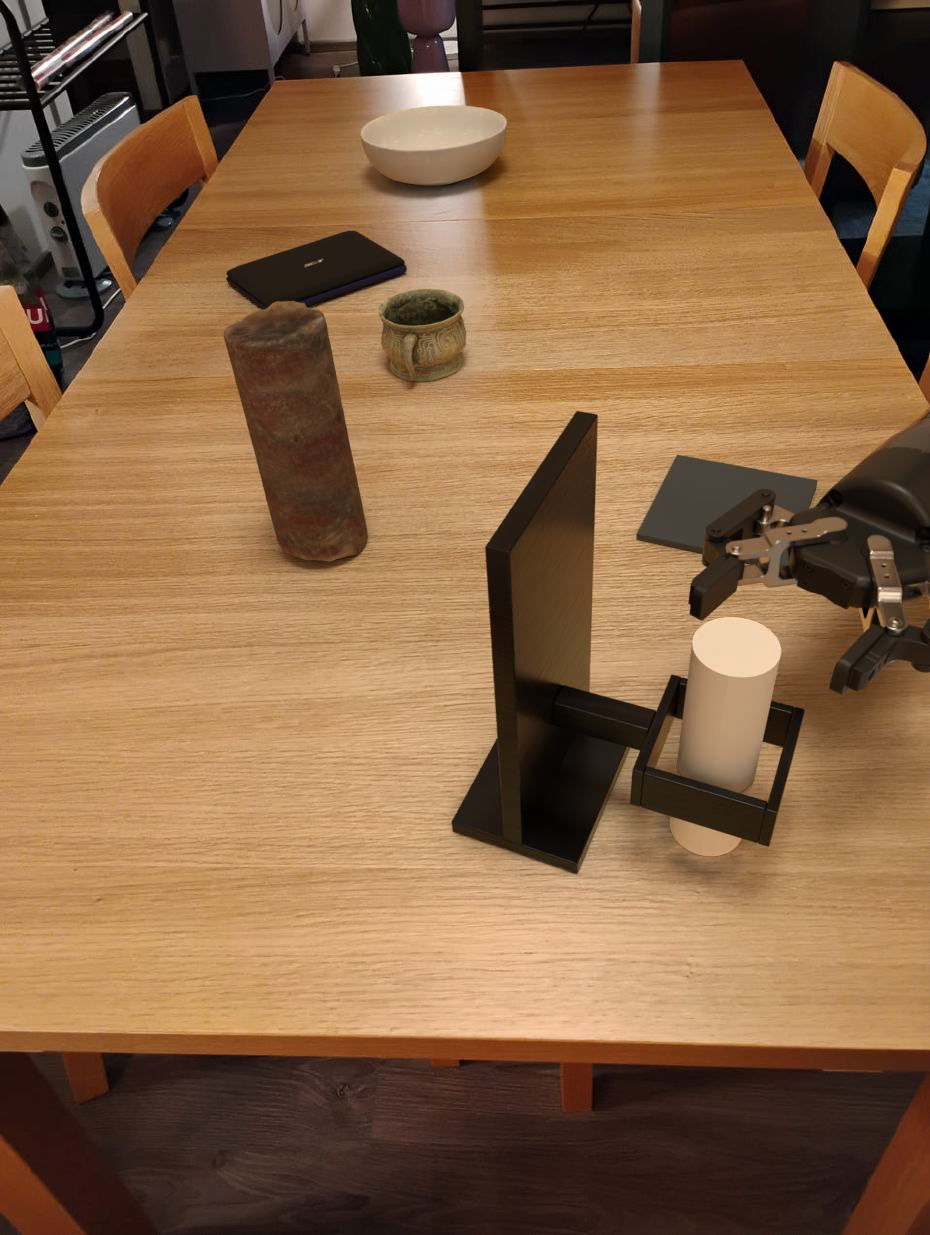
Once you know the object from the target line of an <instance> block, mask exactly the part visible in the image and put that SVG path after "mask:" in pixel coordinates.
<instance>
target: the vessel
mask: <svg viewBox="0 0 930 1235" xmlns="http://www.w3.org/2000/svg"><path fill="white" fill-rule="evenodd" d="M464 309H465V303H464V300H463V298H461V297H460V295H458V294H455V293H453V292H451V291H448V290H445V289H438V288H418V289H411V290H407V291H403V292H400V293H397V294H394V295H392V296H390V297H388V298H386V299H385V300H384V301H383V302H381V304H380V305H379V307H378V316H379V317H380V320H381V322H382V332H381V339H380V343H381V344H380V345H381V348H382V350H383V352H384V353H385V355H386V356H387V358H389V359H390V363H389V369H390V370H391V372H392V374H393V375H395V376H397V377H398V378H400V379H401V380H404V381H409V382H418V383H419V382H421V383H422V382H432V381H437V380H441V379H444V378H446V377H449V376H451V375H452V374H455V373H456V372H458V370H459V369H460V368H461V367H462V366H463V357H462V355H461V351H463V350H464V348H465V347H466V345H467V330H466V326H465V321H464V319H463V316H462V314H463V312H464Z"/></svg>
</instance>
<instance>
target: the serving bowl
mask: <svg viewBox="0 0 930 1235" xmlns="http://www.w3.org/2000/svg"><path fill="white" fill-rule="evenodd" d="M507 131H508V120H507V118H506V117H505V116H504V115H503V114H501V113H499V112H498V111H495V110H493V109H490V108H489V109H488V108H485V107H478V106H472V105H471V106H470V105H451V104H450V105H448V104H447V105H430V106H419V107H412V108H407V109H402V110H397V111H393V112H389V113H387V114H383V115H381V116H378V117H375V118H374V119H372V120H370V121H368V122H367V123H366V124H365V125H364V126H363V127H362V128H361V130H360V132H359V137H360V142H361V146H362V149H363V151H364V154H365V156H366V158H367V160H368V161H369V163H370V164H371V166H373V167H374V169H376V171H378V173H380V174H381V175H383V176H385V177H387V178H388V179H390V180H393V181H396V182H399V183H404V184H408V185H417V186H423V187H440V186H446V185H452V184H454V183H458V182H460V181H464V180H467V179H469V178H472V177H474V176H477V175H479V174H481V173H482V172H484V171H485V170H487V169H488V168H489V167H491V166H492V165H493V163H495V161H497V159H498V157H499V156H500V154H501V153H502V151H503V148H504V146H505V142H506V137H507Z"/></svg>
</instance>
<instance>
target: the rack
mask: <svg viewBox="0 0 930 1235" xmlns="http://www.w3.org/2000/svg"><path fill="white" fill-rule="evenodd" d="M598 424H599V415H598V414H597V413H593V412H587V411H581V410H576V411H575V412H574V414H573V415H572V417H571V418H570V420H569V421H568V423H567V424H566V426H565V428H563V430H562V432H561V433H560V435H559V436H558V438H557V439H556V440H555V442H554V444H553V445H552V446H551V448H550V449H549V451H548V453H546V456H545V457H544V459H543V460H542V461H541V463H540V464H539V466H538V468H537V469H536V470H535V472H534V474H533V475H532V476H531V478H530V479H529V481H528V482H527V483H526V485H525V486H524V489H523V490H522V492H521V493H520V494H519V496H518V497H517V498H516V500H515V502H514V503H513V504H512V506H511V508H510V509H509V510H508V512H507V513H506V515H505V517H504V518H503V520H502V521H501V523H500V524H499V525H498V527H497V528H496V530H495V532H494V533H493V534H492V536H491V538H489V541H488V542H487V543H486V545H485V546H484V552H485V565H486V566H485V567H486V568H485V569H486V583H487V597H488V610H489V611H488V615H489V629H490V630H489V631H490V645H491V646H490V647H491V660H492V663H491V664H492V675H493V676H492V677H493V678H492V680H493V691H494V694H493V695H494V704H495V705H494V708H495V710H494V711H495V726H496V738H495V741H494V742H493V745H492V746H491V747H490V750H489V752H488V754H487V756H486V757H485V759H484V761H483V763H482V764H481V767H480V768H479V770H478V772H477V774H476V776H475V778H474V780H473V781H472V783H471V785H470V787H469V789H467V790H468V791H467V792H466V794H465V796H464V797H463V799H462V802H461V803H460V805H459V807H458V809H457V811H456V813H455V814H454V816H453V818H452V820H451V830H452V832H453V833H457V834H460V835H462V836H465V837H468V838H471V839H474V840H477V841H479V842H483V843H486V844H488V845H492V846H494V847H497V848H500V849H503V850H506V851H510V852H513V853H514V854H518V855H521V856H525V857H526V858H530V859H533V860H536V861H538V862H542V863H545V864H548V865H551V866H553V867H556V868H559V869H562V870H564V871H568V872H571V873H573V874H578V873H579V870H580V868H581V865H582V864H583V861H584V858H585V856H586V853H587V852H588V848H589V846H590V844H591V843H592V839H593V837H594V834H595V832H596V829H597V827H598V824H599V822H600V820H601V817H602V816H603V813H604V810H605V807H606V805H607V803H608V801H609V798H610V796H611V793H612V791H613V789H614V786H615V784H616V782H617V779H618V777H619V774H620V772H621V770H622V768H623V765H624V763H625V761H626V757H627V755H628V753H629V750H630V749H631V750H636V751H639V753H638V755H637V758H636V760H635V762H634V765H633V768H632V769H631V770H632V771H631V782H630V783H631V784H630V796H629V804H630V805H632V806H635V807H638V808H642V809H644V810H647V811H648V810H649V811H651V812H654V813H658V814H660V815H664V816H668V817H669V818H670V817H674V818H677V819H680V820H683V821H686V822H690V823H693V824H696V825H699V826H703V827H706V828H709V829H712V830H716V831H719V832H722V833H725V834H728V835H732V836H735V837H738V838H741V840H745V841H748V842H752V843H754V844H759V845H760V846H764V847H768V848H769V847H770V846H771V842H772V838H773V835H774V831H775V827H776V823H777V821H778V815H779V812H780V809H781V804H782V800H783V797H784V793H785V789H786V786H787V783H788V778H789V774H790V771H791V768H792V763H793V760H794V756H795V752H796V748H797V745H798V742H799V737H800V732H801V728H802V724H803V721H804V717H805V713H806V709H805V708H802V707H798V706H794V705H791V704H788V703H783V702H779V701H775V700H772V699H771V704H770V708H769V713H768V718H767V723H766V727H765V732H764V737H763V741H762V743H765V744H769V745H773V746H776V747H780V748H782V749H781V753H780V757H779V759H778V764H777V767H776V771H775V775H774V778H773V782H772V786H771V788H770V793H769V796H768V800H765V799H761V798H757V797H754V796H752V795H751V796H748V795H744V794H741V793H737V792H734V791H731V790H727V789H724V788H720V787H717V786H714V785H710V784H707V783H703V782H700V781H697V780H693V779H690V778H687V777H683V776H680V775H676V773H673V772H669V771H666V770H662V769H659V768H656V767H657V765H658V762H659V759H660V757H661V755H662V752H663V749H664V746H665V744H666V741H667V738H668V736H669V733H670V731H671V728H672V726H673V723H674V720H675V719H678V720H681V721H682V720H683V712H684V704H685V696H686V688H687V680H688V677H682V676H681V675H676V674H670V677H669V678H668V681H667V683H666V686H665V689H664V691H663V694H662V696H661V698H660V701H659V704H658V707H657V709H653V708H649V707H645V706H641V705H638V704H635V703H630V702H627V701H624V700H621V699H616V698H612V697H610V696H605V695H602V694H599V693H595V692H591V690H590V688H591V686H590V685H591V653H592V619H593V594H594V593H593V592H594V591H593V590H594V589H593V587H594V560H595V559H594V558H595V556H594V554H595V528H596V527H595V524H596V522H595V521H596V494H597V493H596V490H597V489H596V488H597V462H598V461H597V458H598V457H597V456H598V427H599V425H598Z"/></svg>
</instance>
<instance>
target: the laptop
mask: <svg viewBox="0 0 930 1235" xmlns="http://www.w3.org/2000/svg"><path fill="white" fill-rule="evenodd" d="M405 263H406V262H405V260H404V259H403V258H402V257H400V256H398V255H397V254H395V253H394V252H392V251H391V250H389V249H387V248H386V247H384V246H382V245H380V244H379V243H377V242H376V241H374V240H372V239H370V238H369V237H367V236H365V235H364V234H362V233H360V232H358V231H357V230H345V231H342V232H339V233H336V234H333V235H330V236H326V237H323V238H321V239H317V240H314V241H311V242H307V243H305V244H302V245H298V246H296V247H292V248H289V249H287V250H283V251H280V252H276V253H274V254H271V255H268V256H267V255H266V256H264V257H262V258H259V259H255V260H251V261H249V262H245V263H242V264H240V265H237V266H234V267H233V268H230V269H228V270H227V271H226V276H227V277H226V278H225V280H226V282H227V283H228V284H229V285H230V286H231V287H232V288H234V289H235V290H236V291H238V292H239V293H240V294H241V295H243V296H244V297H246V298H247V300H249V301H251V302H252V303H253V304H255V305H256V306H257V307H259V308H260V309H261V310H264V309H266V308H268V307H269V306H270V305H271V304H272V303H274V302H277V301H280V302H283V301H295V302H299V303H305V305H306V307H307V308H308V307H310V306H312V305H315V304H318V303H321V302H324V301H327V300H330V299H332V298H335V297H338V296H341V295H344V294H347V293H349V292H352V291H355V290H358V289H361V288H364V287H366V286H369V285H372V284H374V283H378V282H381V281H384V280H386V279H389V278H392V277H395V276H398V275H401V274H405V273H406V272H407V264H405Z"/></svg>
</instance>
